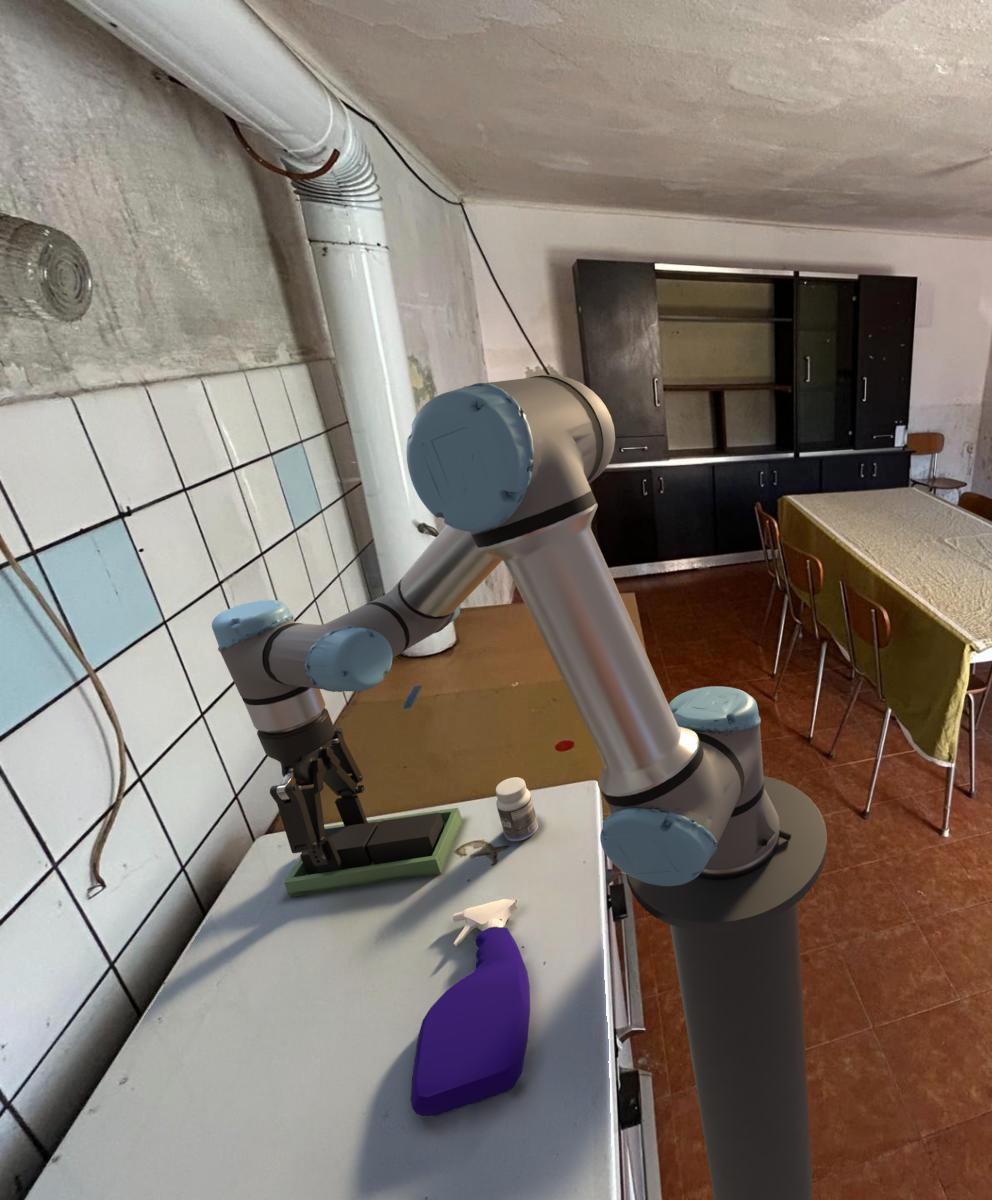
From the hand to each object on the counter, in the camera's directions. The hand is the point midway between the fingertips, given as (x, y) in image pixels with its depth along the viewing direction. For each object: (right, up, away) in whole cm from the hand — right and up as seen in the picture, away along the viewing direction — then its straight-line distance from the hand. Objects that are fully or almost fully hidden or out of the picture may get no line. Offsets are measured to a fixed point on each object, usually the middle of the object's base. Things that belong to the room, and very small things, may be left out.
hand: (347, 854), depth 93 cm
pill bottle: (+23, +1, +5) cm, 23 cm away
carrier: (+4, -1, +1) cm, 4 cm away
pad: (+8, 0, +1) cm, 8 cm away
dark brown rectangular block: (0, 0, 0) cm, 1 cm away
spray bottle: (+28, -9, -19) cm, 35 cm away
